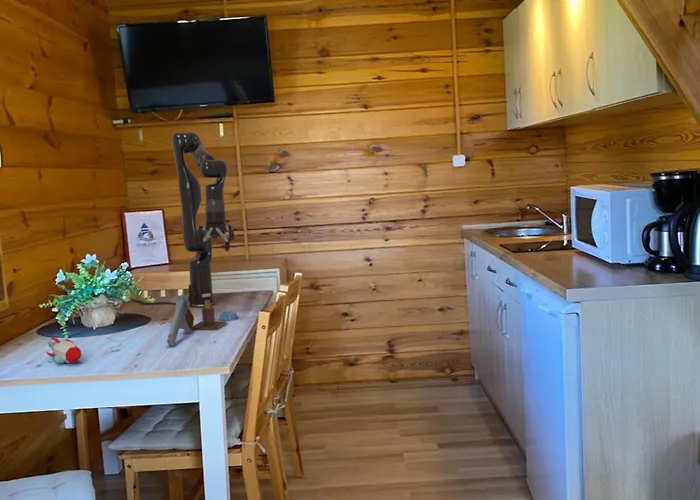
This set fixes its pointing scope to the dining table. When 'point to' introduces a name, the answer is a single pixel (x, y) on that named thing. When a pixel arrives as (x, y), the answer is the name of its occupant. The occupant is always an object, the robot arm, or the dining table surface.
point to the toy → (64, 351)
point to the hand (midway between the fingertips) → (216, 250)
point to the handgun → (180, 319)
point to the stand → (208, 319)
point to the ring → (228, 315)
